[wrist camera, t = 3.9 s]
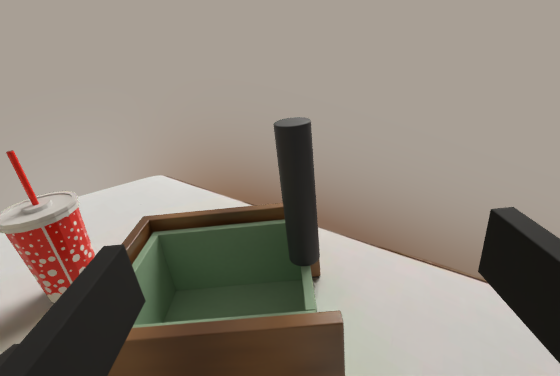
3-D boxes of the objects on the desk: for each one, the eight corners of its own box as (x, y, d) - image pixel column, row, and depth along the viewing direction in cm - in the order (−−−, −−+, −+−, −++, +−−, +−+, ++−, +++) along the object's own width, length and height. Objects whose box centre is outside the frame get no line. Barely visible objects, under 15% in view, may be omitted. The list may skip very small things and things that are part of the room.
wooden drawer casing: (319, 270, 29) (314, 199, 26) (346, 419, 17) (343, 323, 14) (166, 284, 29) (142, 216, 26) (94, 436, 18) (39, 348, 15)
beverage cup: (105, 258, 34) (53, 136, 29) (114, 287, 30) (55, 148, 24) (40, 284, 31) (-33, 154, 26) (39, 321, 27) (-51, 172, 21)
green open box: (316, 279, 28) (303, 103, 21) (335, 396, 18) (323, 148, 12) (173, 291, 28) (117, 123, 22) (122, 411, 19) (-1, 182, 13)
